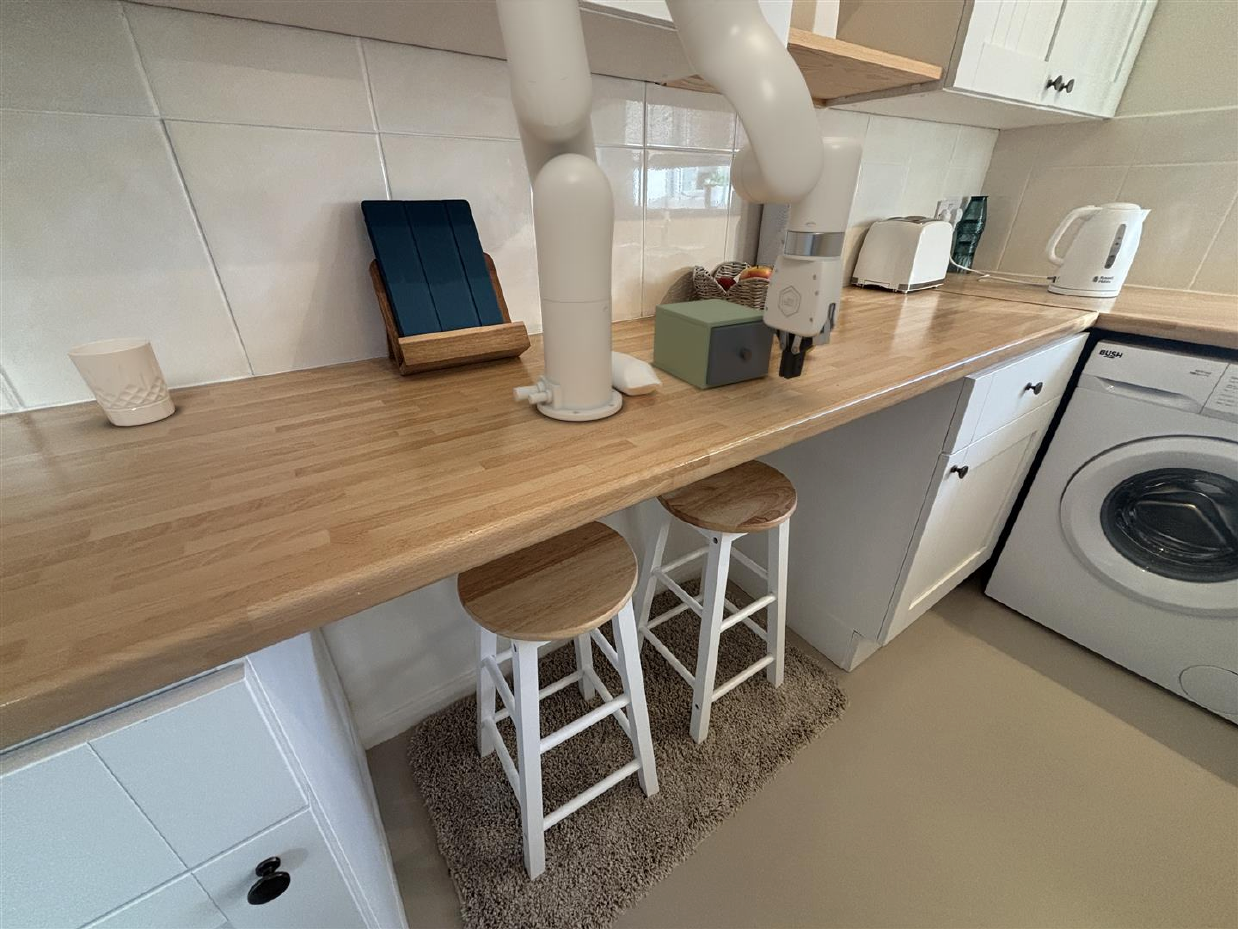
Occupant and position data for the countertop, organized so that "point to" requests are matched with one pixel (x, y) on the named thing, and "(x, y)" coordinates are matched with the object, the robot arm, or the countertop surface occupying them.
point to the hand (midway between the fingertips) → (789, 375)
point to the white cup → (124, 379)
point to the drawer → (738, 352)
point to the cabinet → (694, 336)
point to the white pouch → (633, 375)
